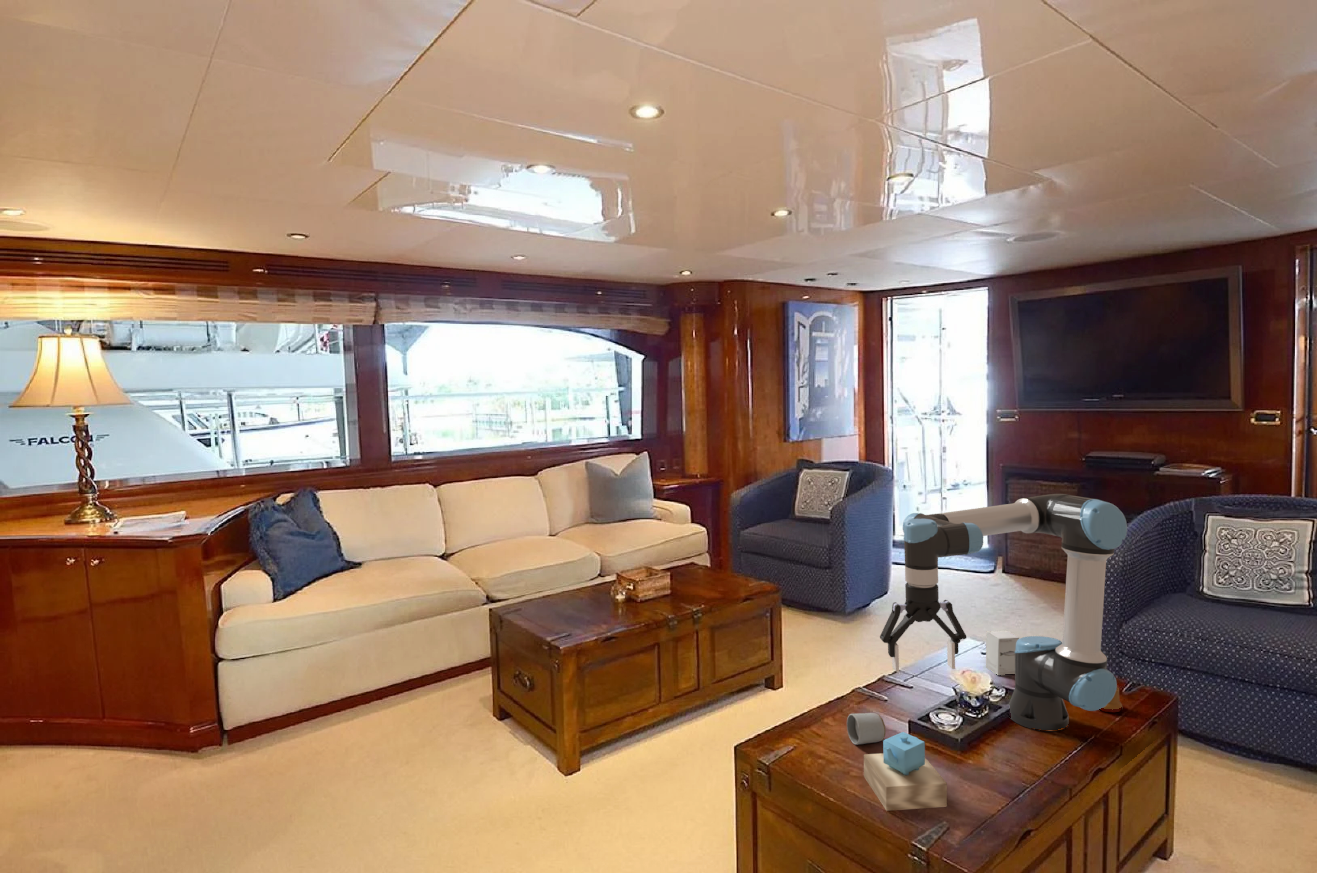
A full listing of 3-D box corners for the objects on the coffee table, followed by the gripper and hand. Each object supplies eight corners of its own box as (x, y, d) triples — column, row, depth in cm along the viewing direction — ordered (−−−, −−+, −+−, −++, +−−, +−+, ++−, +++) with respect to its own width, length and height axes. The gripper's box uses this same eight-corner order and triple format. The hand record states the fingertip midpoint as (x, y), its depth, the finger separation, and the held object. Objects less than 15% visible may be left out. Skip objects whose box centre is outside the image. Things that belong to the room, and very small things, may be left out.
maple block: (919, 774, 173) (919, 751, 172) (946, 808, 159) (946, 783, 158) (863, 778, 172) (863, 754, 171) (886, 812, 158) (886, 787, 158)
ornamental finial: (1096, 713, 201) (1088, 701, 208) (1126, 715, 199) (1116, 703, 206) (1097, 685, 201) (1088, 675, 208) (1127, 688, 199) (1117, 677, 206)
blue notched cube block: (895, 783, 159) (894, 750, 158) (873, 771, 164) (873, 740, 164) (928, 766, 165) (928, 735, 165) (907, 755, 171) (907, 725, 170)
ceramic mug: (887, 746, 186) (887, 717, 185) (859, 750, 184) (858, 721, 184) (867, 728, 196) (867, 701, 196) (840, 731, 194) (840, 704, 194)
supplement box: (997, 676, 227) (998, 638, 226) (985, 667, 234) (985, 630, 234) (1019, 675, 228) (1020, 637, 227) (1006, 666, 235) (1006, 629, 234)
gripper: (966, 576, 174) (967, 659, 176) (865, 581, 175) (868, 664, 176) (980, 585, 167) (981, 671, 168) (874, 590, 167) (877, 676, 169)
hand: (923, 668), depth 172 cm, fingers open, 13 cm apart
